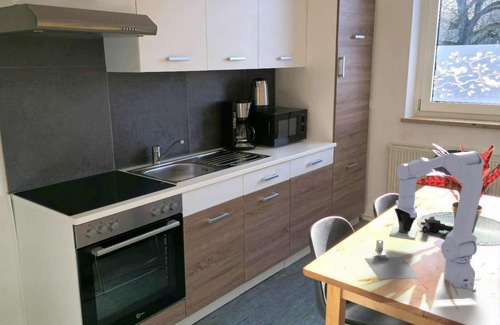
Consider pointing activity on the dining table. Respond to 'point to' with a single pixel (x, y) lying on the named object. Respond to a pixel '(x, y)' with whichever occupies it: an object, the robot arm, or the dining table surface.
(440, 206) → the dining table surface
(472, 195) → the robot arm
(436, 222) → the black power drill
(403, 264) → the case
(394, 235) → the lid
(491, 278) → the dining table surface
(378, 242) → the bolt
